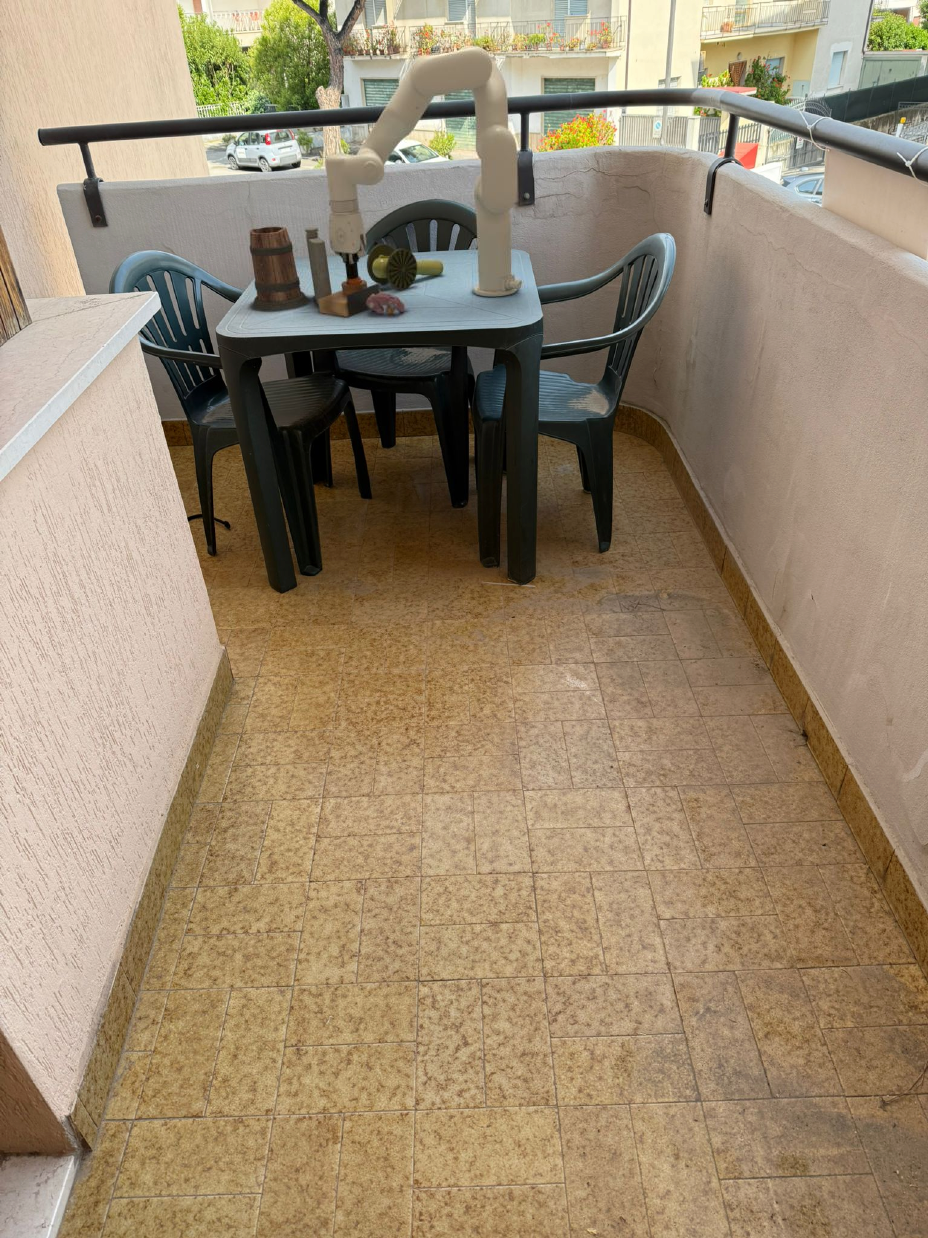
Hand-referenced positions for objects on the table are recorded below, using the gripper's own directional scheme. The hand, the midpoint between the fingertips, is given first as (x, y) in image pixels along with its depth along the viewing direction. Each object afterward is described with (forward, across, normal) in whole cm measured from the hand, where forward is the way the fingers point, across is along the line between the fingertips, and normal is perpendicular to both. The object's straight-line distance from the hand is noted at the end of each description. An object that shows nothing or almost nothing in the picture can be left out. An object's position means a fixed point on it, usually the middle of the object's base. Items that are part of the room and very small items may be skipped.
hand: (352, 277), depth 237 cm
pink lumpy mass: (+8, +14, -3) cm, 16 cm away
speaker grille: (+7, +6, -3) cm, 10 cm away
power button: (+3, 0, 0) cm, 3 cm away
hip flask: (+8, -11, -2) cm, 13 cm away
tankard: (+8, -24, -6) cm, 26 cm away
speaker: (+7, +1, -3) cm, 8 cm away
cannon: (+7, -1, +26) cm, 27 cm away
